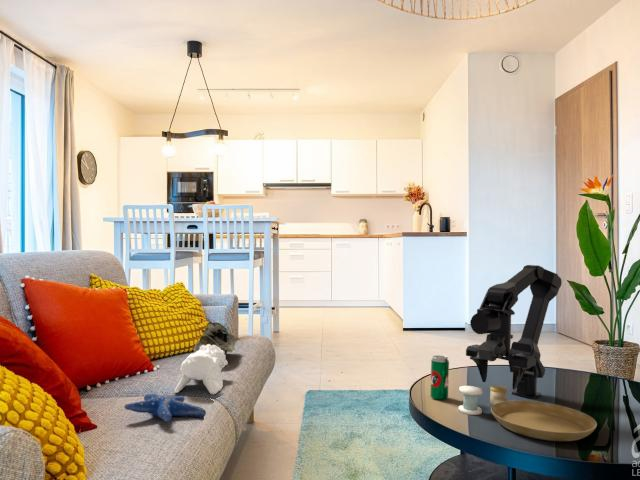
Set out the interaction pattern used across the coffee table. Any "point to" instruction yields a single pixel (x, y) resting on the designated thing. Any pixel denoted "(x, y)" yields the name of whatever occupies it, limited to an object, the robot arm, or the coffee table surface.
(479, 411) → the white spool
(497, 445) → the coffee table surface
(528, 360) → the robot arm
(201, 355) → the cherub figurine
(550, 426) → the plant saucer
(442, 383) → the soda can
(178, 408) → the starfish
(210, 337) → the hollow geode rock
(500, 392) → the brass peg
